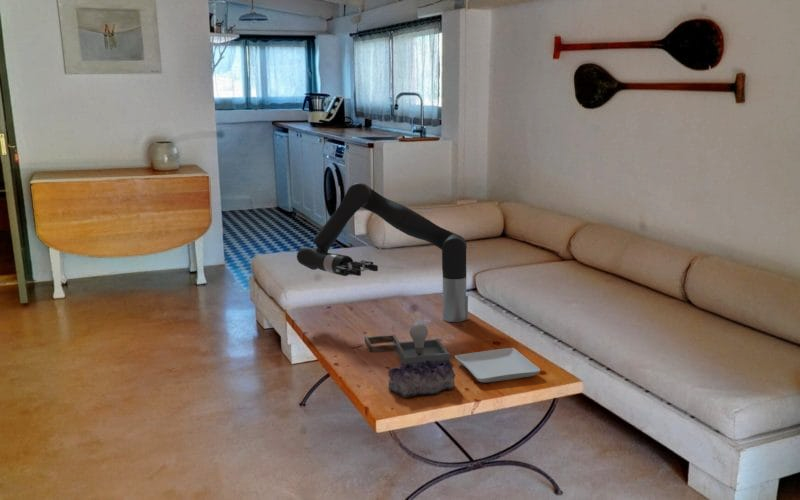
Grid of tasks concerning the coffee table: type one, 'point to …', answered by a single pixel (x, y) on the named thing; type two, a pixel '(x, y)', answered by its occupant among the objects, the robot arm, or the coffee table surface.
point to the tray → (430, 352)
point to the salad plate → (498, 365)
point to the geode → (421, 378)
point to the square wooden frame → (381, 347)
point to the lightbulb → (418, 336)
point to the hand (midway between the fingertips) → (368, 270)
